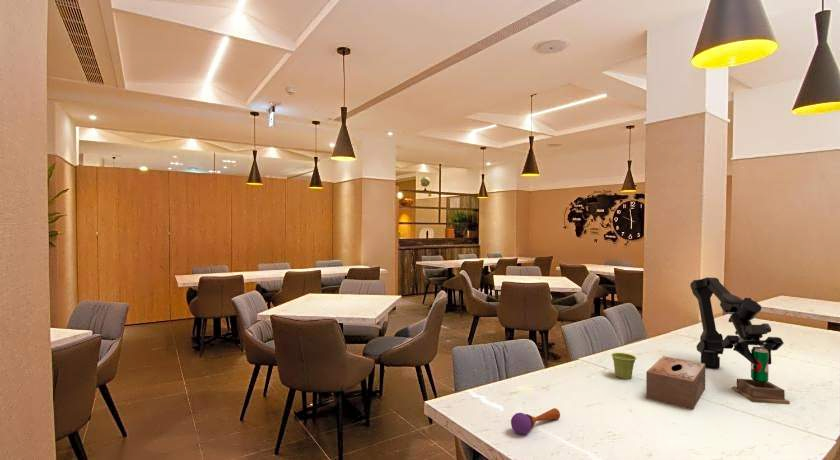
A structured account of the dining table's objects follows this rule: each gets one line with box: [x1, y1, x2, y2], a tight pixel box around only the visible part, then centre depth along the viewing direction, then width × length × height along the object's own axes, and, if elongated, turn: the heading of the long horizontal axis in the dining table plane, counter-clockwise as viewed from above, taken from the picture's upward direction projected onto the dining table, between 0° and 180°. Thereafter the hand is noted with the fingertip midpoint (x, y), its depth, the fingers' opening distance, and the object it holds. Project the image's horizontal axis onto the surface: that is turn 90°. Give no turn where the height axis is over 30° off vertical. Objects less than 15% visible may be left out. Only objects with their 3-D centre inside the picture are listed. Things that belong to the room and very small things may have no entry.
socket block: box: [731, 378, 791, 405], centre depth 154 cm, size 12×12×4 cm
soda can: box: [750, 346, 770, 382], centre depth 154 cm, size 5×5×12 cm
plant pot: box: [611, 352, 637, 380], centre depth 174 cm, size 9×9×9 cm
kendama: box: [510, 407, 561, 435], centre depth 130 cm, size 6×6×20 cm
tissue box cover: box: [645, 355, 706, 411], centre depth 156 cm, size 26×14×10 cm, turn 138°
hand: (762, 363), depth 153 cm, fingers closed on soda can, 5 cm apart
